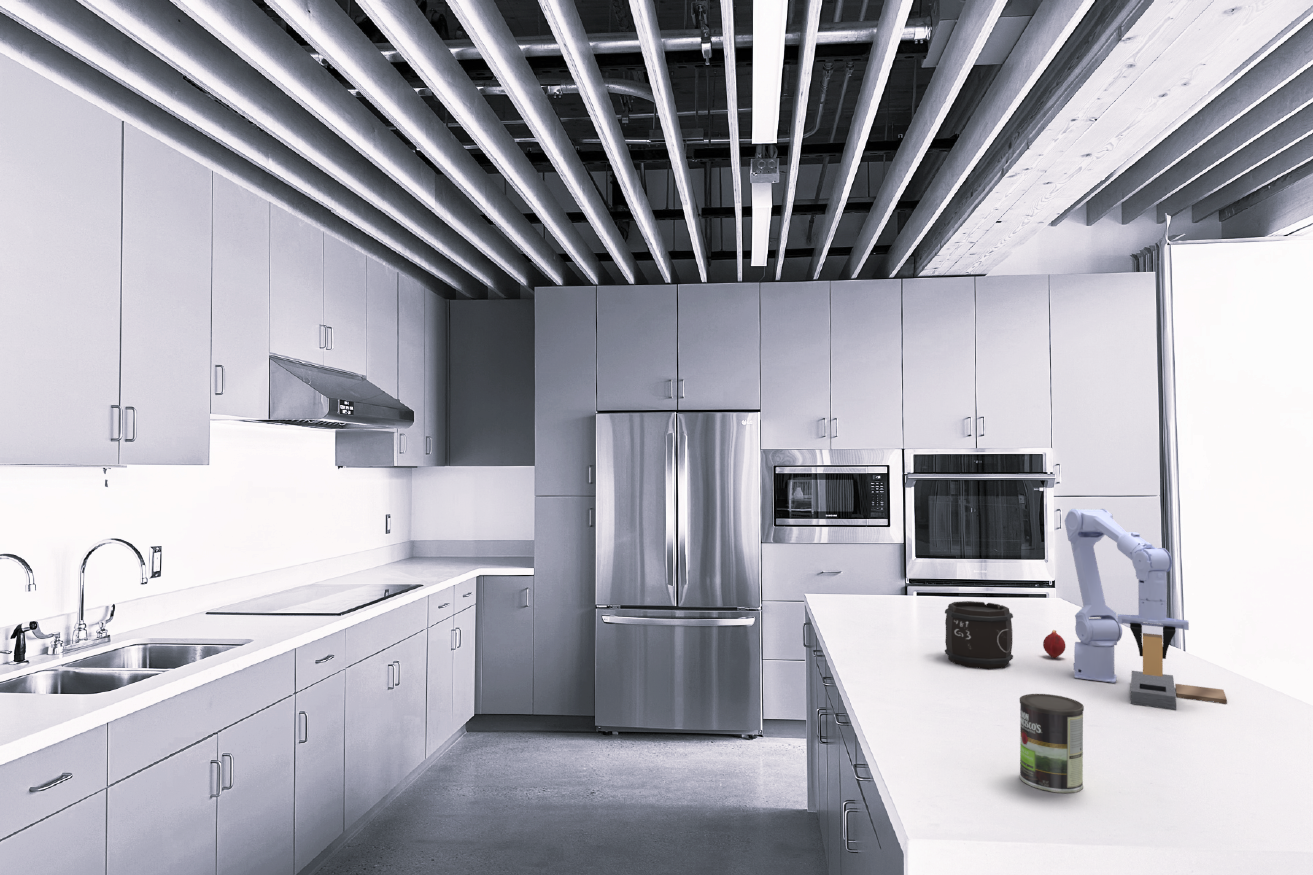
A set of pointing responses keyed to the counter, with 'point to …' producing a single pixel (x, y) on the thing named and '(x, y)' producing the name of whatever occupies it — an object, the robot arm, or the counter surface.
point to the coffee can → (1051, 743)
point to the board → (1200, 693)
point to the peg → (1152, 654)
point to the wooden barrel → (978, 634)
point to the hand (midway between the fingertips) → (1152, 656)
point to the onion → (1054, 644)
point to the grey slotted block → (1153, 690)
